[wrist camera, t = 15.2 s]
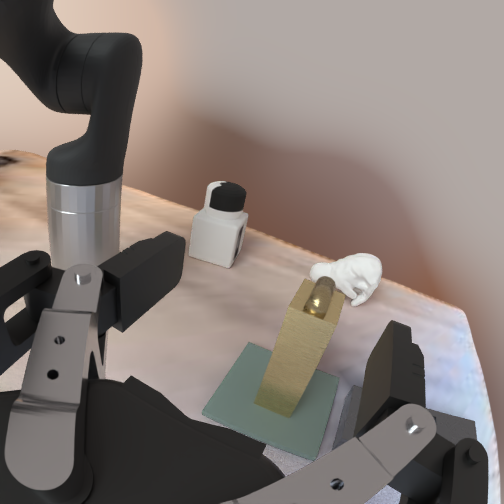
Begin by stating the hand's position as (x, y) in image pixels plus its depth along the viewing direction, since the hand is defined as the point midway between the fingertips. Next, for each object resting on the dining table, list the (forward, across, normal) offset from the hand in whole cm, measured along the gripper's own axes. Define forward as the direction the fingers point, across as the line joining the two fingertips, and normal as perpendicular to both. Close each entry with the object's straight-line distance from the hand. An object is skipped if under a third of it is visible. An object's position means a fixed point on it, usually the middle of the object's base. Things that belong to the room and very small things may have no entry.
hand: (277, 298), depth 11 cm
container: (+38, +18, +23) cm, 48 cm away
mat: (+13, -2, +22) cm, 26 cm away
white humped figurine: (+40, -4, +23) cm, 46 cm away
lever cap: (+13, -2, +21) cm, 25 cm away
